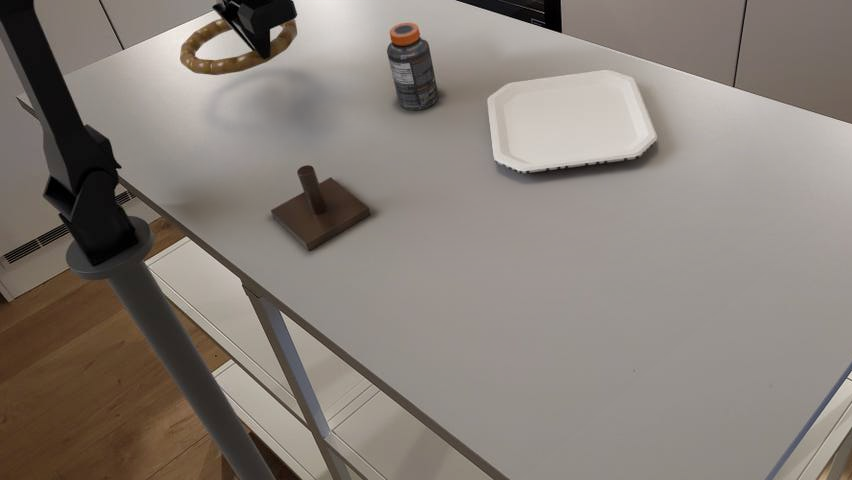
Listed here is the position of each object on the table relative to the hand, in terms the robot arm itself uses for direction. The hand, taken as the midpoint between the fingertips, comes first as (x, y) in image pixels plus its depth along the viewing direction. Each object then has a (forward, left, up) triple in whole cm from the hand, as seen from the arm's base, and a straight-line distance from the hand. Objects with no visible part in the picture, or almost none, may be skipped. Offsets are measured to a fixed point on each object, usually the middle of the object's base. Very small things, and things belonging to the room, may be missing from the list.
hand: (262, 55), depth 105 cm
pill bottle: (+16, -12, -10) cm, 23 cm away
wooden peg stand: (-8, -24, -10) cm, 27 cm away
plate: (+25, -34, -10) cm, 43 cm away
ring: (0, +8, 0) cm, 8 cm away
